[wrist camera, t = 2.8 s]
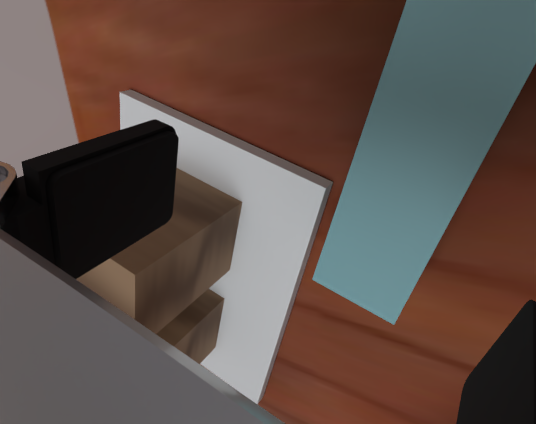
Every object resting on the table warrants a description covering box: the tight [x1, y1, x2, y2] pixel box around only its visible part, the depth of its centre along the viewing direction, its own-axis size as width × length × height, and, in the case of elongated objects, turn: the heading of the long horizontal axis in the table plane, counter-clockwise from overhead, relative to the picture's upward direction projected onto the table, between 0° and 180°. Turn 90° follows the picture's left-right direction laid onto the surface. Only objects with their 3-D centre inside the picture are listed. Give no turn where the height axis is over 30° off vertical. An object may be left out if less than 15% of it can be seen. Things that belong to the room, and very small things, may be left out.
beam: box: [312, 0, 536, 325], centre depth 17 cm, size 16×4×5 cm, turn 168°
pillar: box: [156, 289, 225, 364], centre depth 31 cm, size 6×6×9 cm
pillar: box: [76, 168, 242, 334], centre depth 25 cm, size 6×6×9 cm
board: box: [120, 90, 333, 404], centre depth 32 cm, size 22×16×1 cm
